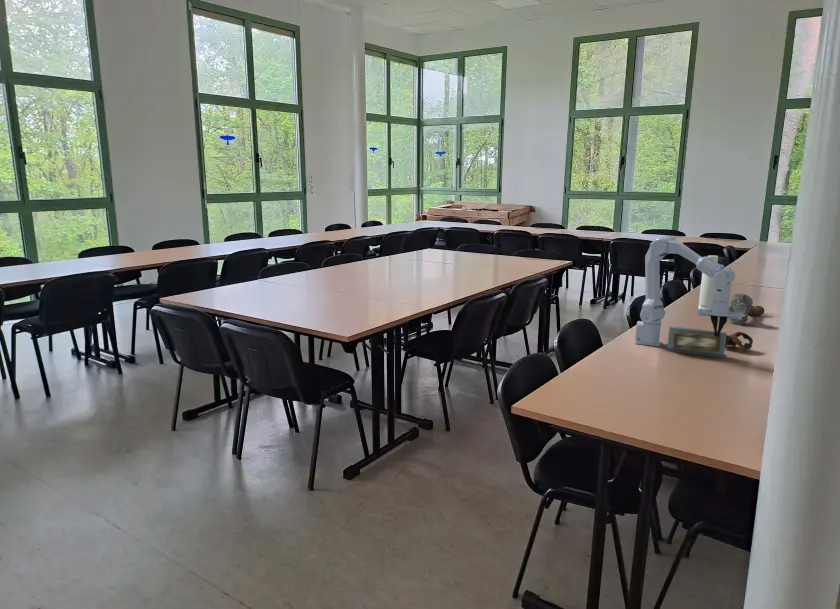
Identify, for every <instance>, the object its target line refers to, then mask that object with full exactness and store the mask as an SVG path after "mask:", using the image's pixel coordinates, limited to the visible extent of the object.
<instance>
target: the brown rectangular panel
mask: <svg viewBox="0 0 840 609" xmlns="http://www.w3.org/2000/svg"><path fill="white" fill-rule="evenodd" d="M720 339H721V335H719V337H718V336H714V335H708V334H692V333H676V332H674V348H677V349H690V350H704V351H718V352H720Z"/></svg>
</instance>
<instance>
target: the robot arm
mask: <svg viewBox="0 0 840 609" xmlns="http://www.w3.org/2000/svg"><path fill="white" fill-rule="evenodd" d="M669 254H673V255H674V254H677V255H679V256H681V257H683V258H684V259H686V260H688V261H689V262H692V263H693V264H695V266H696V269H697V270H698V271H699V272H701V273H702V272H703V273H704V274H706V275H707V276H709V277H710V278H712V280H713V282H714V290H713V298H712V307H711V310H701V309H697V316H698V317H700V316H701V317H702V316H703V317H710V320H711V321H710V322H711V324H712V328H713V331H714V336H718V337H719V335H720V332H722V329H723V328H724V326H725V325H726V323H727V322H728V318H733V319H740V320H741V316H742V314H741V313H733V312H728V309H729V305H730V302H731V300H730V299H731V291H732V282H733V281H734V280H735V278H736V275H735V272H734V270H732V269H731V267H725V265H724V264H720V263H719V262H717V263H716V262H715V261H713V258H712V257H708V256H701V255H700V254H698V253H696V252H695V251H694V250H692V249H691V248H689V246H687V245H685V244H684V243H683V242H682V241H680V240H679V239H676V238H675V237H673V236H666V237H657V238H655V239H654V240H653V241H651V242H650V244H649V248H648V250H647V252H646V254H645V257H644V263H645V265H644V266H645V268H644V269H645V270H644V272H645V273H644V274H645V278H644V279H645V281H644V282H645V285H644V286H645V300H644V302H643V303H642V306H641V307H642V308H641V311H640V313H639V317H640V320H638V321H637V322H636V329H635V334H634V339H635V341H634V344H638V345H645V346H652V347H661V343H662V342H661V341H662V340H660V339H661V328H662V319H664V317H665V315H666V310H665V308H664V304H663V300H661V293H660V292H661V286H660V285H661V283H660V281H661V280H660V279H661V278H660V274H661V273H660V267H661V266H660V265H661V264H660V262H661V260H662V259H663V258H664V257H665V256H667V255H669Z"/></svg>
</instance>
